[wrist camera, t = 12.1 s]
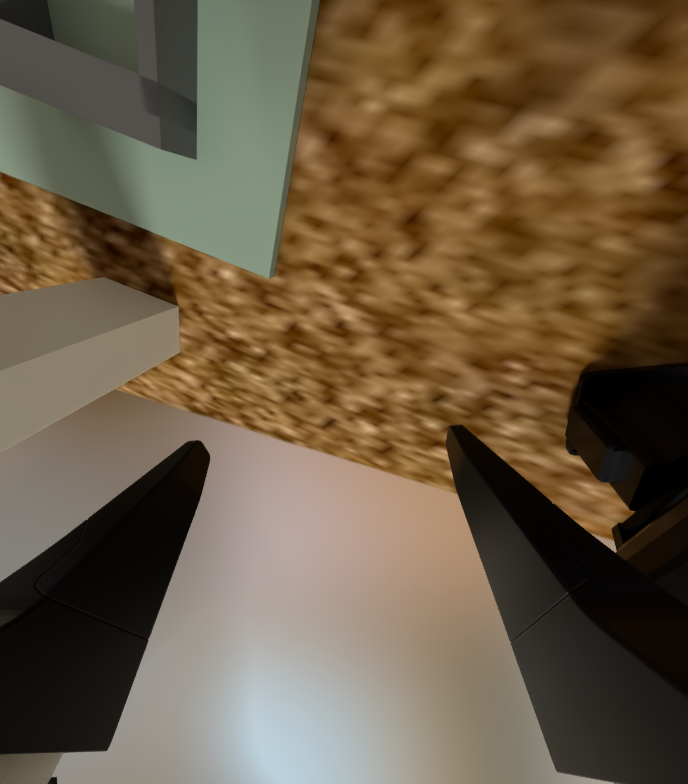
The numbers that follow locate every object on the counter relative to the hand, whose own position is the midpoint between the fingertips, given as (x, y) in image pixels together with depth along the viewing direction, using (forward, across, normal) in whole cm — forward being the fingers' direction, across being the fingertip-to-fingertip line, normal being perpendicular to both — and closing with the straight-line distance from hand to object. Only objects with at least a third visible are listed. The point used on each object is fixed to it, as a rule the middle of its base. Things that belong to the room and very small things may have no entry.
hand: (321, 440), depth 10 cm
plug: (+14, +15, -1) cm, 20 cm away
